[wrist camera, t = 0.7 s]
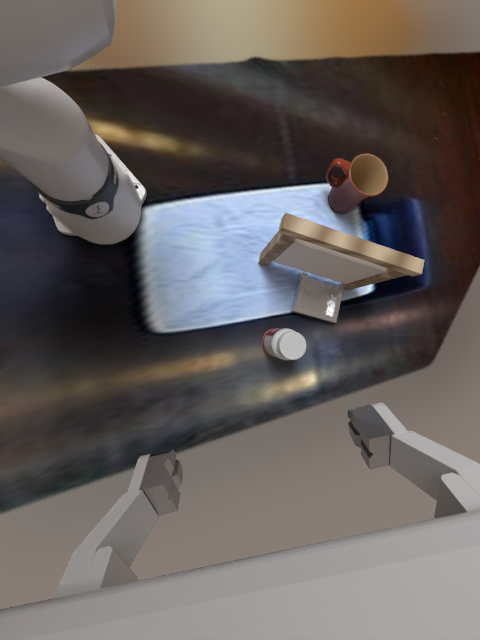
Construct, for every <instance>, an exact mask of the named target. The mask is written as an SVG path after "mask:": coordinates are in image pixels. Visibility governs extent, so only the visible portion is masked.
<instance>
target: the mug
mask: <svg viewBox="0 0 480 640" xmlns="http://www.w3.org/2000/svg"><path fill="white" fill-rule="evenodd" d="M334 166H339V167H341V168H342V169H343V171H344V173H345V174H344V175H343V176H342V177H341V178H339V179H337V178H334V177H333V176H332V175H331V170H332V168H333V167H334ZM326 179H327V181H328V183H329V184H330V186H331V187H332V188H331V190H330V192H329V196H328V200H329V204H330V206H331V207H332V209H333V210H334V211H336V212H338V213H342V214H344V213H348V212H350V211H352V210H354V209H356V208H357V207H358V206H359V205H360V204H362V203H363V202H364V201H365V200H366V199H368V198H370V197H373V196H376V195H378V194H380V193H381V192H383V190H384V189H385V188H386V186H387V183H388V172H387V169H386V166H385V165H384V163H383V162H382V161H381V160H380V159H379V158H378V157H376V156H375V155H372V154H361V155H358V156H356V157H355V158H354V159H353V160H352V162H349V161H346V160H344V159H341V158H336V159H334V160H333V161H332V162H331V163H330V165H329V166H328V168H327V171H326Z"/></svg>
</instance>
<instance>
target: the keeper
mask: <svg viewBox="0 0 480 640" xmlns="http://www.w3.org/2000/svg"><path fill="white" fill-rule="evenodd" d="M307 276H308V274H305V273H302V274H300V275H299V279H298V283H297V288H296V292H295V296H294V300H293V305H292V309H291V312H293V313H297V314H300V315H304V316H308V317H311V318H315V319H318V320H322V321H326V322H329V323H336V322H337V317H338V312H339V308H340V303H341V299H342V294H343V289H344V285H341V284H338V285H333V284H330V283H326V282H323V281H320V280H317V279H313V278H310V277H307Z"/></svg>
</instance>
